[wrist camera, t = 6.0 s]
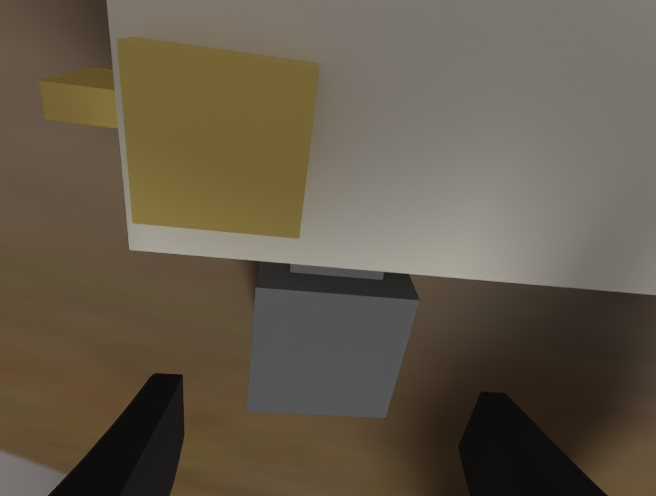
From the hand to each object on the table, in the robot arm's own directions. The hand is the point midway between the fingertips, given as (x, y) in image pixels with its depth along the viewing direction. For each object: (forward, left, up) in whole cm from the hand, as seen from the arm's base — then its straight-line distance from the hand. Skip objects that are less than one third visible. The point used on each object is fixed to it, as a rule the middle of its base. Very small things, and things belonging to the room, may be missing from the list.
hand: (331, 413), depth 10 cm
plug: (+1, 0, -5) cm, 5 cm away
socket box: (+7, -4, -5) cm, 10 cm away
